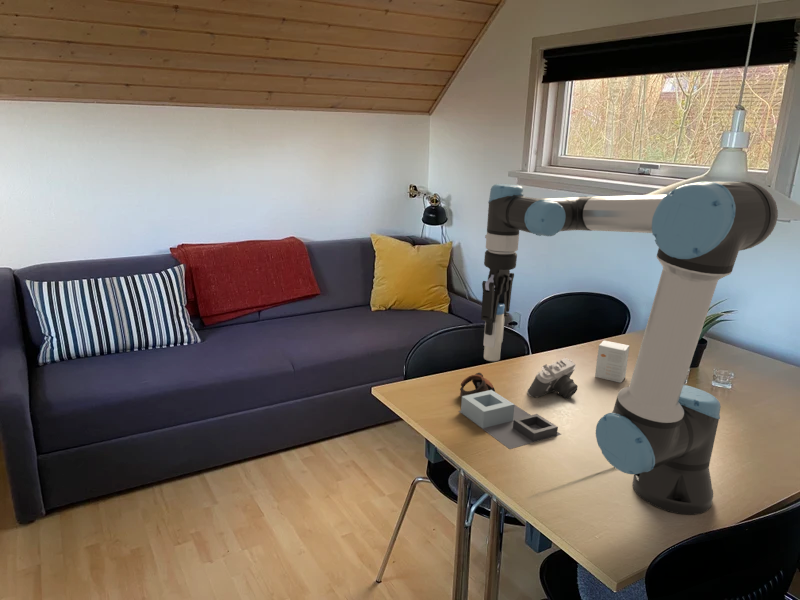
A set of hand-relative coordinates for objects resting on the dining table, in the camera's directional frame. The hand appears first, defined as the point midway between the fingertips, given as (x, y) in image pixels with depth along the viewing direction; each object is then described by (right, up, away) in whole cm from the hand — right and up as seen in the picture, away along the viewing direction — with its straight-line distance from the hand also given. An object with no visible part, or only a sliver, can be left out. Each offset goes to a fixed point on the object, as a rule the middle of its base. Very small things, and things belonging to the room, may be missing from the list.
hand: (493, 343), depth 146 cm
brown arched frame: (-1, -17, +17) cm, 24 cm away
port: (-1, -19, +5) cm, 20 cm away
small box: (+41, -13, +35) cm, 56 cm away
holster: (+10, -21, -1) cm, 24 cm away
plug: (0, -4, +1) cm, 4 cm away
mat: (+4, -21, +3) cm, 21 cm away
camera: (+21, -16, +21) cm, 34 cm away
